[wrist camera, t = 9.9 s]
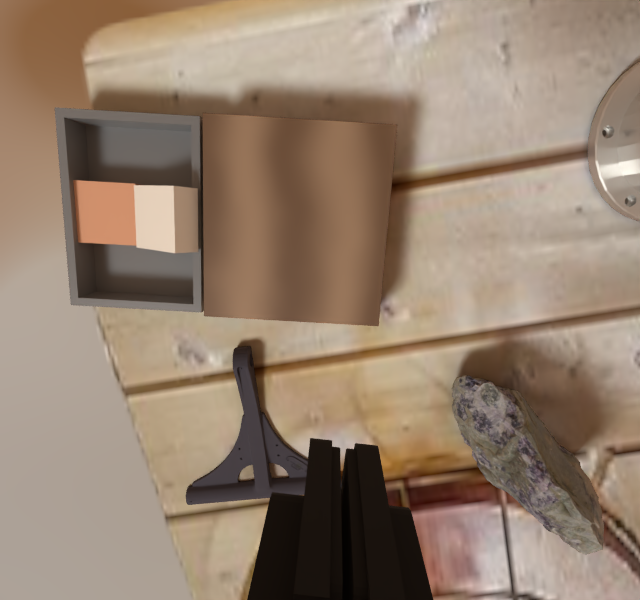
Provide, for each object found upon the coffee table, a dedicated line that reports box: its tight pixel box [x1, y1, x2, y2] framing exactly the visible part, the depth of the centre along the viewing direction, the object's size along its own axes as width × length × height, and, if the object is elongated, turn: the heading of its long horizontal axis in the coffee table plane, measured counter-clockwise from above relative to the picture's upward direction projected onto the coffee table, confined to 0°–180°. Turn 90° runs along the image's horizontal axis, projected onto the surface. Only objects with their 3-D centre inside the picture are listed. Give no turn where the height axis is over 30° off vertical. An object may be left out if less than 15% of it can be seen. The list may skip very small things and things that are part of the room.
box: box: [55, 108, 204, 312], centre depth 30 cm, size 10×14×3 cm
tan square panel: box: [203, 113, 397, 326], centre depth 29 cm, size 13×14×4 cm
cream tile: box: [134, 185, 198, 253], centre depth 28 cm, size 4×4×2 cm
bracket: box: [186, 346, 308, 505], centre depth 34 cm, size 14×15×3 cm
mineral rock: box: [452, 375, 604, 554], centre depth 30 cm, size 13×11×10 cm
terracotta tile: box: [73, 180, 140, 246], centre depth 30 cm, size 4×4×2 cm
